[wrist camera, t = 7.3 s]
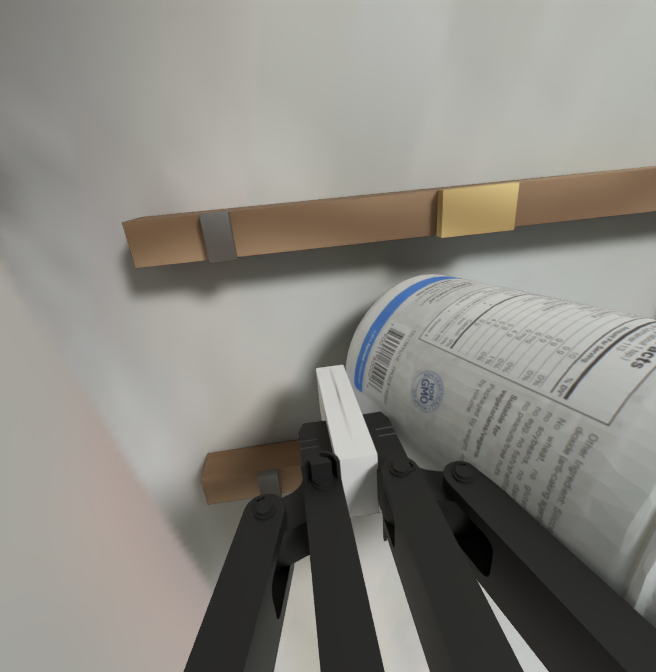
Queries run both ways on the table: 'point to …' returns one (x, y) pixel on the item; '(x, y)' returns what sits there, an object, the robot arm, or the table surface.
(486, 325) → the supplement tub
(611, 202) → the beam track
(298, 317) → the table surface
